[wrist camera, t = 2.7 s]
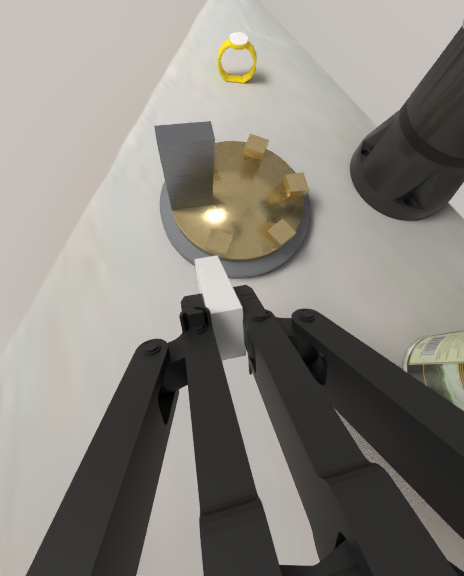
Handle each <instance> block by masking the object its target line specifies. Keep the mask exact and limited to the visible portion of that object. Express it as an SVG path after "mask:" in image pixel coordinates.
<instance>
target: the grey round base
mask: <svg viewBox="0 0 464 576" xmlns="http://www.w3.org/2000/svg"><path fill="white" fill-rule="evenodd" d="M293 172H294V171H293ZM294 173H295V172H294ZM303 197H304V210H303V215H302V218H301V221H300V224H299V225H298V227H297V229H296V232H297V233H296V234H295V236H294V237H293V238H292V239H291V240H290V241H289V242H287V243H286V244H285V245H284V246H283V247H282V248H281V249H279V250H278V251H276V252H275V253H273V254H271V255H269V256H267V257H264V258H262V259H258V260H254V261H246V262H233V261H226V260H222V259H219V260H220V262H221V264H222V266H223V268H224V270H225V272H226V275H227V277H228V278H249V277H255V276H259V275H263V274H265V273H268V272H270V271H272V270H274V269H276V268H278V267H279V266H281V265H282V264H283V263H285V262H286V261H287V260H288V259H289V258H290V257H291V256H292V255H293V254H294V253H295V251H296V250H297V249H298V247H299V246H300V244H301V243H302V241H303V239H304V237H305V236H306V233H307V230H308V227H309V221H310V204H309V199H308V195H307V194H306V196H303ZM160 213H161V218H162V222H163V225H164V229H165V231H166V234H167V236H168V238H169V240H170V242H171V243H172V245H173V246H174V247H175V249H176V250H177V251H178V252H179V253H180V254H181V255H182V256H183V257H184V258H185V259H186V260H187V261H189V262H190V263H191V264H193V265H194V266H195V260H194V259H198V258H205V257H211V256H210V255H208V254H206V253H204V252H202V251H200V250H199V249H197V248H196V247H195V246H193V245H192V244H191V243H190V242H189V241H188V240H187V239H186V238H185V237H184V235H183V234H182V233H181V231H180V230H179V228H178V226H177V224H176V222H175V219H174V216H173V212H172V210H171V205H170V200H169V196H168V191H167V187H166V182H164V185H163V187H162V191H161V195H160Z"/></svg>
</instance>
